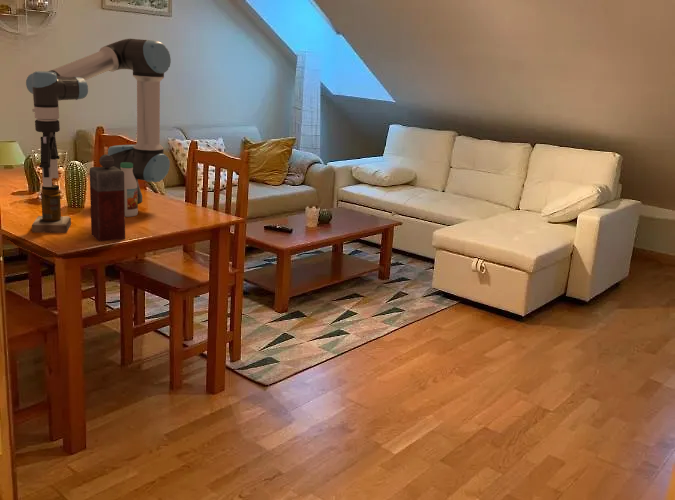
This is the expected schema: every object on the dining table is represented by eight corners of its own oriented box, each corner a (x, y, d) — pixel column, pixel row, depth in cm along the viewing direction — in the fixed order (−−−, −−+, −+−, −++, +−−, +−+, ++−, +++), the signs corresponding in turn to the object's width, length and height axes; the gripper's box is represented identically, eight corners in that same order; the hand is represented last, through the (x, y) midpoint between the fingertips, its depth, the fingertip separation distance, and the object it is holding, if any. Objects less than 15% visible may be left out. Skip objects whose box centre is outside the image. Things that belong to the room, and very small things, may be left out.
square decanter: (115, 230, 244) (113, 151, 236) (125, 238, 235) (124, 156, 227) (89, 232, 239) (86, 151, 231) (98, 241, 230) (96, 157, 222)
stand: (71, 224, 247) (70, 216, 247) (66, 232, 237) (66, 224, 236) (38, 224, 245) (37, 215, 244) (32, 232, 235) (31, 223, 234)
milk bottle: (119, 217, 261) (118, 165, 255) (114, 212, 267) (113, 161, 262) (140, 216, 265) (139, 164, 259) (134, 211, 271) (134, 161, 266)
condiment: (62, 217, 244) (61, 183, 241) (62, 223, 237) (60, 189, 233) (40, 217, 242) (38, 183, 239) (39, 223, 234) (37, 189, 231)
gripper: (41, 114, 241) (45, 174, 247) (27, 124, 218) (32, 190, 224) (64, 115, 243) (67, 174, 249) (53, 125, 220) (57, 190, 226)
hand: (51, 182), depth 237 cm, fingers open, 13 cm apart
